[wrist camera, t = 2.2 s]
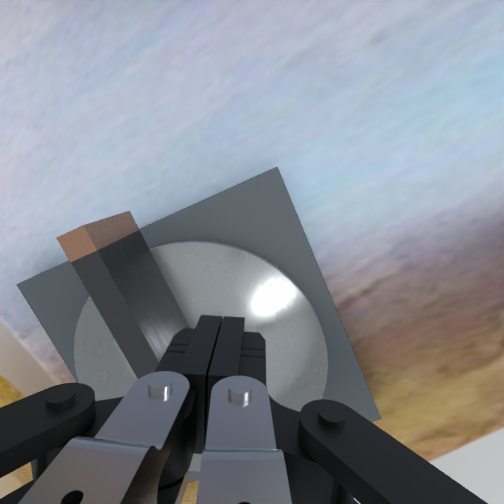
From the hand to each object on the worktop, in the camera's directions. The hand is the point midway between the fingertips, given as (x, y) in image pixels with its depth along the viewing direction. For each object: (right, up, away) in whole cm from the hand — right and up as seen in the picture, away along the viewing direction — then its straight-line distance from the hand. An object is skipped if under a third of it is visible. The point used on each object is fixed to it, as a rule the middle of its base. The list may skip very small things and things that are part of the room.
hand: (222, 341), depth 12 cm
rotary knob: (-3, -4, +15) cm, 16 cm away
